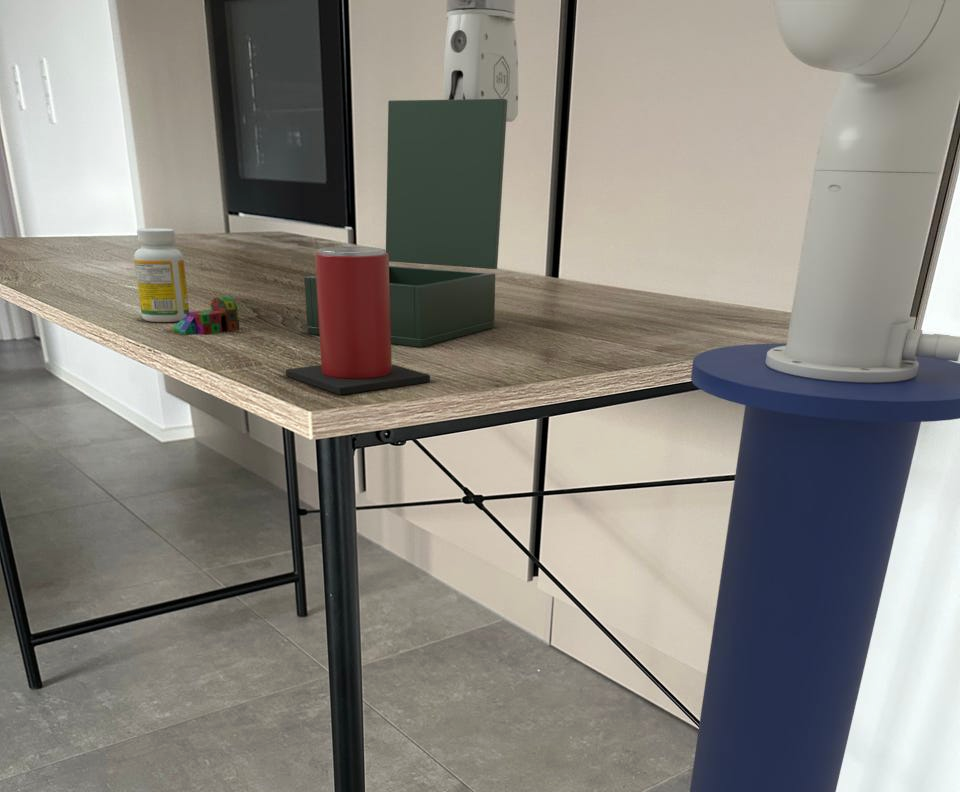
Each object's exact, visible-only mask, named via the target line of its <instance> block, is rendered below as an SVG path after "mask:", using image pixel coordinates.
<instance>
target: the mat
mask: <svg viewBox="0 0 960 792" xmlns="http://www.w3.org/2000/svg"><path fill="white" fill-rule="evenodd" d="M285 377H288V378H290V379H294V380H296V381H299V382H302V383H305V384H307V385H311V386H312V387H313V386H314V387H316V388H319V389H322V390H325V391H328V392H331V393H333V394H336V395H339V396H343V395H350V394H358V393H364V392H370V391H377V390H378V391H379V390H385V389H390V388H391V389H392V388H397V387H405V386H411V385H418V384H425V383H430V382H431V375H430V374H427V373H424V372H421V371H418V370H414V369H410V368H407V367H404V366H399V365H397V364H393V363H392V372H391V373H390V374H389V375H386V376H383V377H377V378H369V379H342V378H334V377H330V376H326V375H324V374H323V373H322V368H321V364H318V365H311V366H303V367H294V368H287V369H285Z"/></svg>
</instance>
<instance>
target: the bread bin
mask: <svg viewBox="0 0 960 792" xmlns="http://www.w3.org/2000/svg"><path fill="white" fill-rule="evenodd" d="M303 281H304V295H305V311H306V324H307V325H306V326H307V334H308V335H315V336H320V335H319V318H318V301H317V284H316V274H315V275H308V276H304V277H303ZM389 285H390V323H391V345H400V346H408V347H409V346H410V347H416V348H423V347H426V346H432V345H434V344H438V343H442V342H446V341H449V340H453V339H457V338H460V337H464V336H468V335H470V334H475V333H478V332H482V331H487V330H489V329H493V328H495V311H496V310H495V309H496V273H493V272H481V271H470V270H469V271H467V270H455V269H454V270H452V269H442V268H441V269H440V268H428V267H415V266H401V265H390V264H389Z"/></svg>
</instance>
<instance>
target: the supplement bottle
mask: <svg viewBox="0 0 960 792" xmlns="http://www.w3.org/2000/svg"><path fill="white" fill-rule="evenodd" d="M136 233H137V241H138V244H140V245H141V246H140V248H138V249H137V250H136V251H135V252H134V254H133V260H134V261H133V262H134V268H135V274H136V275H135V276H136V282H137V291H138V299H139V303H140V304H139V305H140V311H141V317H142V319H143V320H144V321H146V322H151V323H176V322H177V323H178V322H180V321H181V320H182V319H183V318H185V317H186V316H187V312H190V307H189V305H190V304H189V299H188V298H189V295H188V287H187V279H186V269H185V259H184V255H183V253H182V252H181V250H179V249H178V248H175V247H174V244H175V243H176V234H175V230H174V229H172V228H162V227H161V228H158V227H157V228H155V227H153V228H150V227H149V228H147V227H146V228H145V227H144V228H137V229H136Z"/></svg>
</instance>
